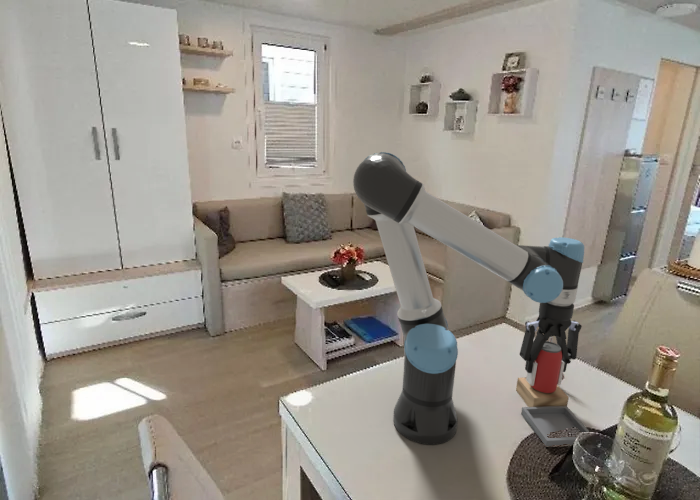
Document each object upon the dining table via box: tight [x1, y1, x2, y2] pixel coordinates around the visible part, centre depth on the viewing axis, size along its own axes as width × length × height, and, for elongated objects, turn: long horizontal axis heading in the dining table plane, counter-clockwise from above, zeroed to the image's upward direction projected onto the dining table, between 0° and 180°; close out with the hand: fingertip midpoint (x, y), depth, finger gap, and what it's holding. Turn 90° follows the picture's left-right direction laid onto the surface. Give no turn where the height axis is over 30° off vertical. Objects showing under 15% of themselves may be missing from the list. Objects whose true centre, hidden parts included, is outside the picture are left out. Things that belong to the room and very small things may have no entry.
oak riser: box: [515, 377, 570, 407], centre depth 109 cm, size 9×9×4 cm
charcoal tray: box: [520, 405, 590, 446], centre depth 99 cm, size 12×12×2 cm
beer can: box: [530, 340, 562, 393], centre depth 107 cm, size 7×7×12 cm
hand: (543, 382), depth 108 cm, fingers closed on beer can, 6 cm apart
